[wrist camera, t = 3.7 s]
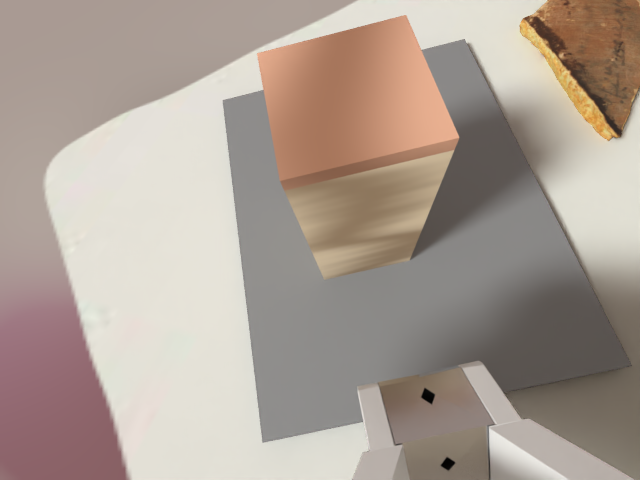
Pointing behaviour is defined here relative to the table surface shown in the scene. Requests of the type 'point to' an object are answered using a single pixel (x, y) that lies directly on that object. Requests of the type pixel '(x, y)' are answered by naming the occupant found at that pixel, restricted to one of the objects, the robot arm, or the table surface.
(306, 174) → the birch block
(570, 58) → the shard
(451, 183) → the rubber mat
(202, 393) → the table surface
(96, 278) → the table surface
